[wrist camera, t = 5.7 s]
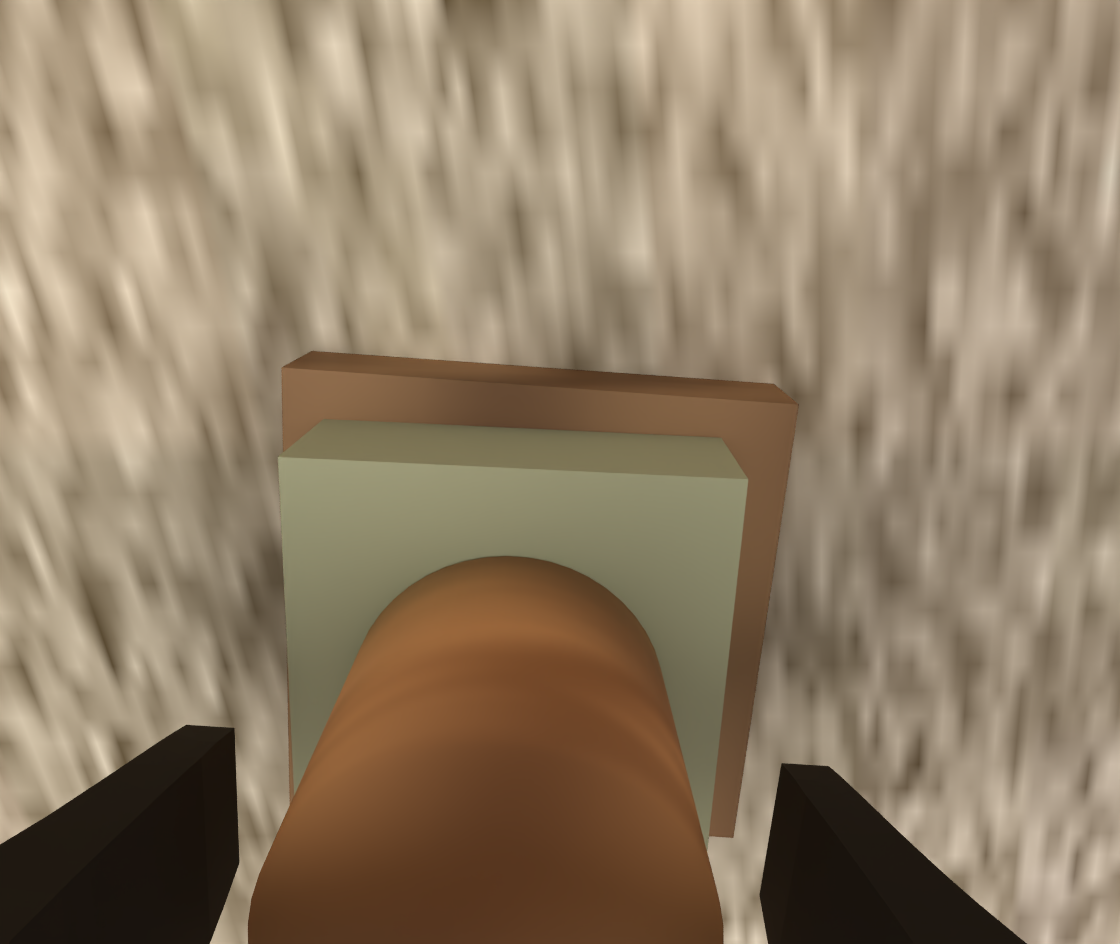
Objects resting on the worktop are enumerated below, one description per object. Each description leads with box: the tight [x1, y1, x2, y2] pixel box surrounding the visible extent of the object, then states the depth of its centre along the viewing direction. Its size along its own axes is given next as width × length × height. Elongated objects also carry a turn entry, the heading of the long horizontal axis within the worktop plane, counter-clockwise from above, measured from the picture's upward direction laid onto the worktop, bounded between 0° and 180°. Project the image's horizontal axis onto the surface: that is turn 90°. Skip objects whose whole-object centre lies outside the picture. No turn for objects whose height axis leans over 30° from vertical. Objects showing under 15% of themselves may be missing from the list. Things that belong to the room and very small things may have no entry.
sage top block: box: [278, 419, 748, 850], centre depth 15 cm, size 7×7×2 cm
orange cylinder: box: [248, 556, 723, 944], centre depth 12 cm, size 5×5×5 cm
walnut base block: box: [282, 351, 799, 838], centre depth 18 cm, size 9×9×2 cm
